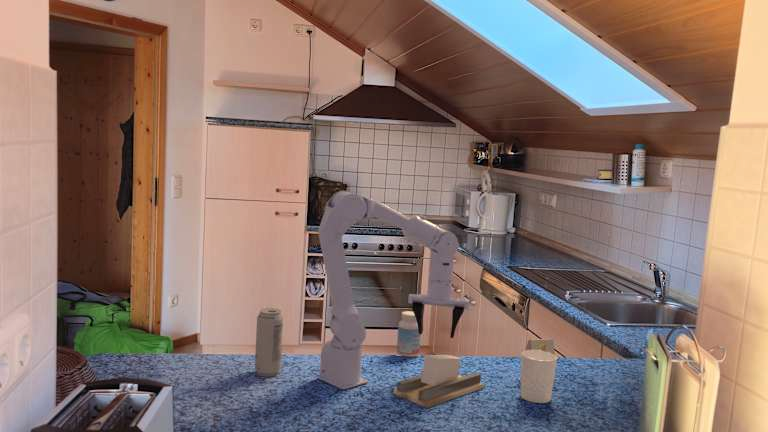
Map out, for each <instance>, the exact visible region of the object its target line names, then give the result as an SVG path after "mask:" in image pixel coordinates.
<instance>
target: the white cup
mask: <svg viewBox="0 0 768 432" xmlns="http://www.w3.org/2000/svg"><path fill="white" fill-rule="evenodd" d="M520 359H521V360H520V361H521V363H520V398H522V399H523V400H525V401H527V402H531V403H535V404H536V403H537V404H545V403H549V402H551V400H552V395H553V394H552V393H553V388H554V382H555V377H556V370H557V362H558V357H557V356H556V354H555V355H554V354H552V353H549V352H545V351H540V350H526V351H525V350H524V351H522V352H521V356H520Z"/></svg>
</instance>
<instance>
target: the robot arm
mask: <svg viewBox="0 0 768 432" xmlns="http://www.w3.org/2000/svg"><path fill="white" fill-rule="evenodd" d="M363 218H365V219H372V218H376V219H378V220H381V221H382V222H385V223H388V224H389V225H391V226H394V227H397V228H398V229H401V231H402V234H403V237H404V238H406V239H407V240H408V239H409V240H410V241H413V242H414V243H417V244H419V245H420V246H423V247H424V248H427V249H429V250H430V254H429V265H428V266H429V268H428V280H427V281H428V282H427V292H426V294H417V293H415V294H414V293H410V294H409V295H408V299H407V300H408V302H407V303H408V304H412V306H411V311H412V312H414V315H415V317H416V320H417V324H418V331H419V334H421V335H422V334H423V331H424V314H425V305H429V306H437V307H439V306H440V307H446V308H447V307H449V308H452V311H451V313H452V316H451V318H452V319H451V328H450V334H449V335H450V339H454V338H455V334H456V333H455V332H456V329H457V326H458V323H459V321H460V319H461V317H462V316H463V314H464V311H465V310H466V311H467V310H469V309H470V299H465V298H464V299H463V298H457V297H453V296H452V289H453V288H452V287H453V272H454V259H455V255H456V253H457V252H458V250H459V248H460V243H459V240H458V237H457V236H456V234H455V233H453V232H451V231H448V230H446V229H443V226H442V225H441V224H434V223H433V222H430V221H428V220H426V219H427V217H426V216H424V215H421V214H419V215H416V214H413V215H410V216H406V215H404V214H402V213H400V212H399V211H396V210H395V209H393V208H392V207H389V206H388V205H386V204H384V203H382V202H380V201H378V200H376V199H372V198H370V197H365V196H362V195H360V194H357V193H351V192H350V191H347V190H339V191H337V192H335V193H334V194H333V195H332V196H331V198H330V199H328V201H327V202H326V204H325V210H324V213H323V216H322V218H321V221H320V225H319V227H318V237H319V244H320V249H321V252H322V253H321V254H322V258H323V263H324V269H325V270H324V271H325V274H326V280H327V285H328V291H329V295H330V301H331V307H330V312H331V318H330V321H329V329H330V331H331V333H332V334H333V337H332V338H331V339H329V340H327V341H326V342H325V343H324V344H323V346H322V348H321V352H320V366H319V368H320V369H319V375H316V378H317V379H319V380H321V381H322V382H326V383H327V384H329V385H332V386H334V387H335V388H338V389H341V390H348V389H350V388H354V387H358V386H361V385H364V384H367V383H369V380H367V379H366V378H363V377H361V373H362V372H361V371H362V354H363V352H362V351H363V343H364V341H365V339H366V338H367V337H366V336H367V331H366V327H365V326H364V324H363V323H362V322H361V319H360V316H359V315H360V314H359V312H358V310H357V308H356V306H355V301H354V295H353V290H352V285H351V280H350V275H349V271H348V270H349V269H348V265H347V260H346V259H347V258H346V254H345V253H346V252H345V248H344V243H343V236H344V235H345V234H346V232H347V231H348V230H349V229H350V227H352V226H354V225H355V224H356V223H358V222H360V221H361V220H363Z"/></svg>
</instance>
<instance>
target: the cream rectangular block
mask: <svg viewBox="0 0 768 432" xmlns="http://www.w3.org/2000/svg"><path fill="white" fill-rule="evenodd" d="M461 361H462V358H460V357H457V356H455V355H449V354H425V356H424V363H423V367H422V373H421V375H422V377H421V382H423V383H426V384H429V385H432V386H436V385H439V384H442V383H445V382H448V381H451V380H454V379H457V378H458V373H459V374H460V365H461Z"/></svg>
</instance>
